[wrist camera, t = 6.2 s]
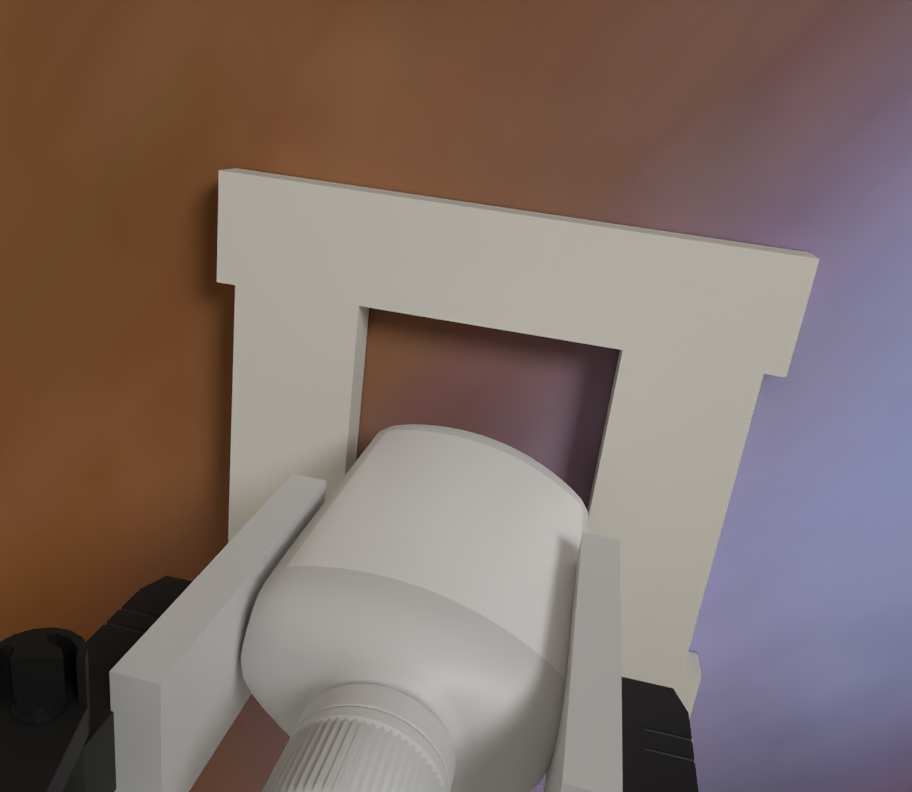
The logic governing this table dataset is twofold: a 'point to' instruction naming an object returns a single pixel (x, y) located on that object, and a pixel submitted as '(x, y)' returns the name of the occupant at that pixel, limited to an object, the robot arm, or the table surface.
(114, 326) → the table surface
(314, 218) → the socket plate
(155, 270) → the table surface
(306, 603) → the eye dropper bottle
